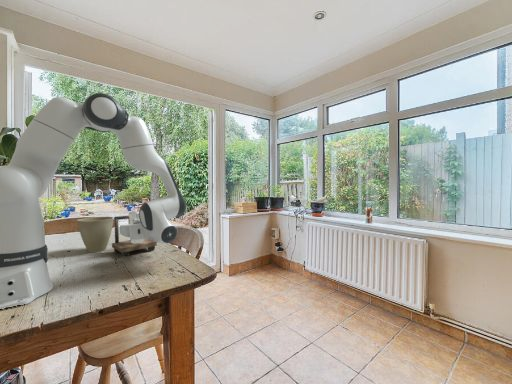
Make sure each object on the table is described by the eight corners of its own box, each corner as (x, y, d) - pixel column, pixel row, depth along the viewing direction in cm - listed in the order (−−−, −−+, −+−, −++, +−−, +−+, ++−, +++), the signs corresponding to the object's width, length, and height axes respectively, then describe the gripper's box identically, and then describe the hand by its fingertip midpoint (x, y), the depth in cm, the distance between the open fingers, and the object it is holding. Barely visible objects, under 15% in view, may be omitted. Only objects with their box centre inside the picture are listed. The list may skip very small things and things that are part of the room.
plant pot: (121, 246, 121) (120, 216, 120) (97, 255, 106) (96, 221, 106) (96, 245, 124) (96, 215, 123) (70, 253, 109) (69, 220, 108)
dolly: (121, 258, 103) (120, 220, 102) (112, 252, 112) (111, 217, 111) (156, 250, 115) (156, 216, 114) (145, 245, 124) (145, 213, 123)
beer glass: (147, 242, 114) (147, 212, 113) (133, 245, 108) (133, 213, 107) (139, 240, 118) (139, 211, 117) (125, 243, 112) (125, 212, 111)
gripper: (174, 218, 107) (160, 215, 117) (126, 224, 92) (115, 220, 101) (174, 232, 108) (160, 228, 117) (127, 240, 92) (115, 235, 102)
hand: (138, 224), depth 109 cm, fingers open, 8 cm apart
